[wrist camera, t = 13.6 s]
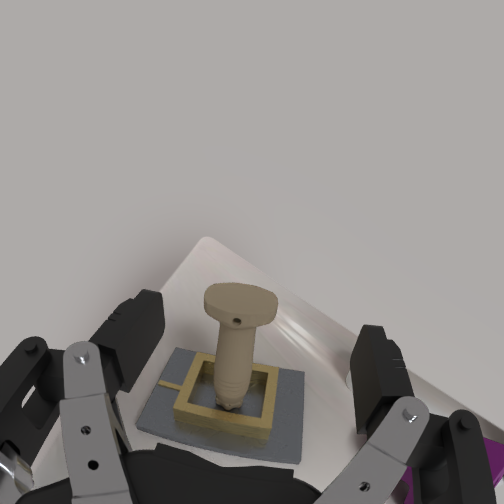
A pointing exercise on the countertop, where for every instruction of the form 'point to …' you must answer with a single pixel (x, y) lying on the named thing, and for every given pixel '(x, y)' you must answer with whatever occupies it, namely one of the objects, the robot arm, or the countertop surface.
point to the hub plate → (228, 421)
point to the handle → (236, 335)
